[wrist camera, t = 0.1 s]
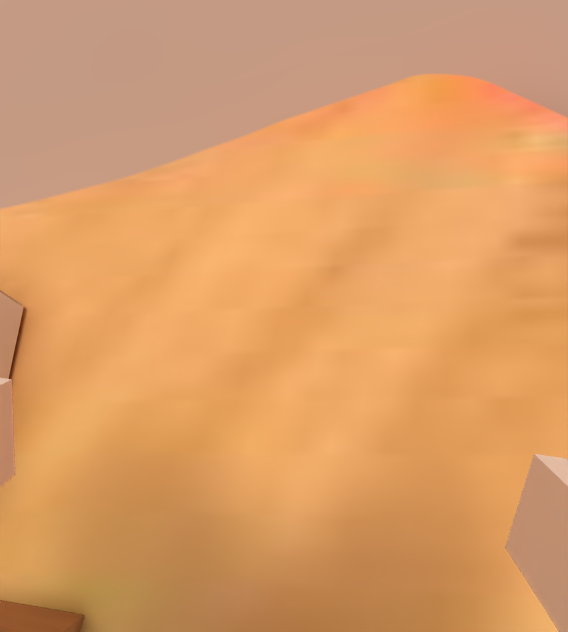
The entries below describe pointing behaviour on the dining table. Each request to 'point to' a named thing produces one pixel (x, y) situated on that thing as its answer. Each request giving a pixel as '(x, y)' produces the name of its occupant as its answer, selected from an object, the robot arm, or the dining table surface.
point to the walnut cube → (36, 619)
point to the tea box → (8, 331)
